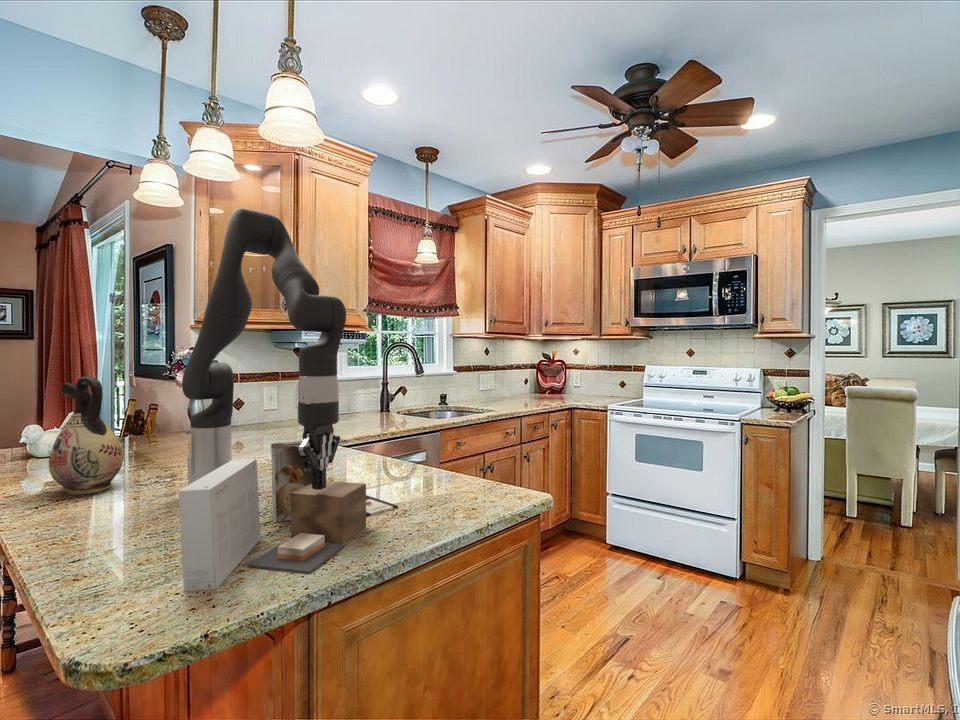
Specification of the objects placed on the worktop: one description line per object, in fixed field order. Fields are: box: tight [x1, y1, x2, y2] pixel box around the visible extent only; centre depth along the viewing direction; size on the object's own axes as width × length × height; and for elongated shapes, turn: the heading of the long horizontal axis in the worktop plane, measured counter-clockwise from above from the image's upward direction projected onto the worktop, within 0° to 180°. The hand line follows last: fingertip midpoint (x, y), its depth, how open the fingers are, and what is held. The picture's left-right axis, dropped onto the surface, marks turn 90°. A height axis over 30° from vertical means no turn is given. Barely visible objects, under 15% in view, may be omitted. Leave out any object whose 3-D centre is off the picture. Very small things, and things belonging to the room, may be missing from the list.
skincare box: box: [178, 458, 262, 592], centre depth 90 cm, size 21×5×16 cm, turn 5°
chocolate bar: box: [366, 494, 399, 517], centre depth 124 cm, size 9×1×18 cm
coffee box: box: [270, 440, 312, 523], centre depth 116 cm, size 9×6×16 cm
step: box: [290, 480, 367, 545], centre depth 105 cm, size 11×10×9 cm
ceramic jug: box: [48, 375, 124, 496], centre depth 135 cm, size 17×15×30 cm
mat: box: [245, 538, 346, 575], centre depth 93 cm, size 12×12×1 cm
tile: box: [277, 533, 325, 561], centre depth 94 cm, size 5×7×2 cm
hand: (319, 488), depth 101 cm, fingers closed
